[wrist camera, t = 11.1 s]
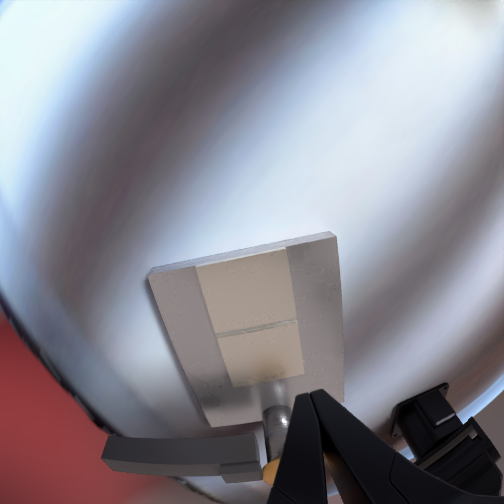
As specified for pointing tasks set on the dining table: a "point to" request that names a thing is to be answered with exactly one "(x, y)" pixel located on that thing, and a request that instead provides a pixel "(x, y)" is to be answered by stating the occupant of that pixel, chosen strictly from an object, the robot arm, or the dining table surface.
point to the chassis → (257, 329)
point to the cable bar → (191, 457)
